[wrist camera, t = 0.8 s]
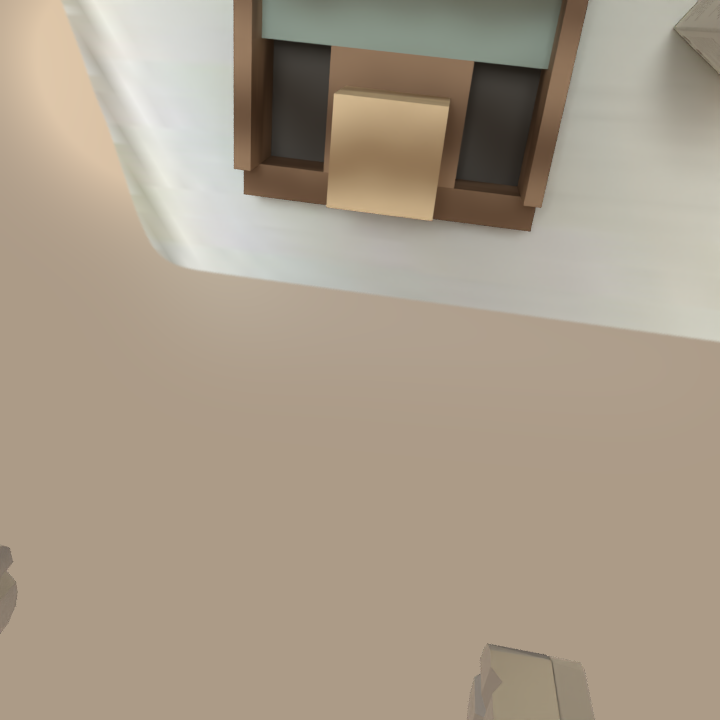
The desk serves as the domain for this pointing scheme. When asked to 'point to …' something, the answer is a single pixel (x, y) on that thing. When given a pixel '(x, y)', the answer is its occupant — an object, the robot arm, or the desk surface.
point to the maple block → (386, 152)
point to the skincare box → (703, 30)
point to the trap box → (408, 75)
